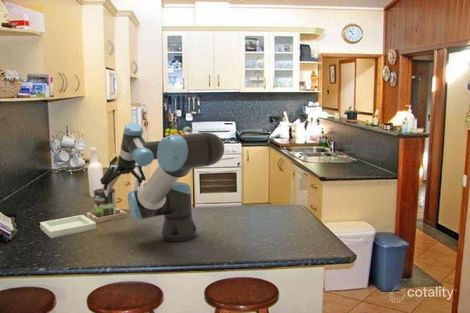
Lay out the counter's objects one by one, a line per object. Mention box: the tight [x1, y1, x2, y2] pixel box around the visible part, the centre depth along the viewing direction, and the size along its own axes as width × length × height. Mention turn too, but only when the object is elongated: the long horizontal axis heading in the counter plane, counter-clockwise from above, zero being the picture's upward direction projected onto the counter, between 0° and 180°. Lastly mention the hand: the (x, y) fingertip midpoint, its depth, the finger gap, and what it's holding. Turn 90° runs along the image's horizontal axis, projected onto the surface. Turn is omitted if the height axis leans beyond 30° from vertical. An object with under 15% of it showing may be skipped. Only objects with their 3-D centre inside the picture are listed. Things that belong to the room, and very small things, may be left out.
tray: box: [39, 214, 97, 240], centre depth 212 cm, size 20×20×3 cm
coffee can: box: [93, 187, 117, 217], centre depth 230 cm, size 10×10×14 cm
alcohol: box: [87, 146, 104, 198], centre depth 282 cm, size 9×9×30 cm
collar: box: [85, 207, 128, 224], centre depth 230 cm, size 15×15×2 cm
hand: (120, 192), depth 209 cm, fingers open, 13 cm apart
